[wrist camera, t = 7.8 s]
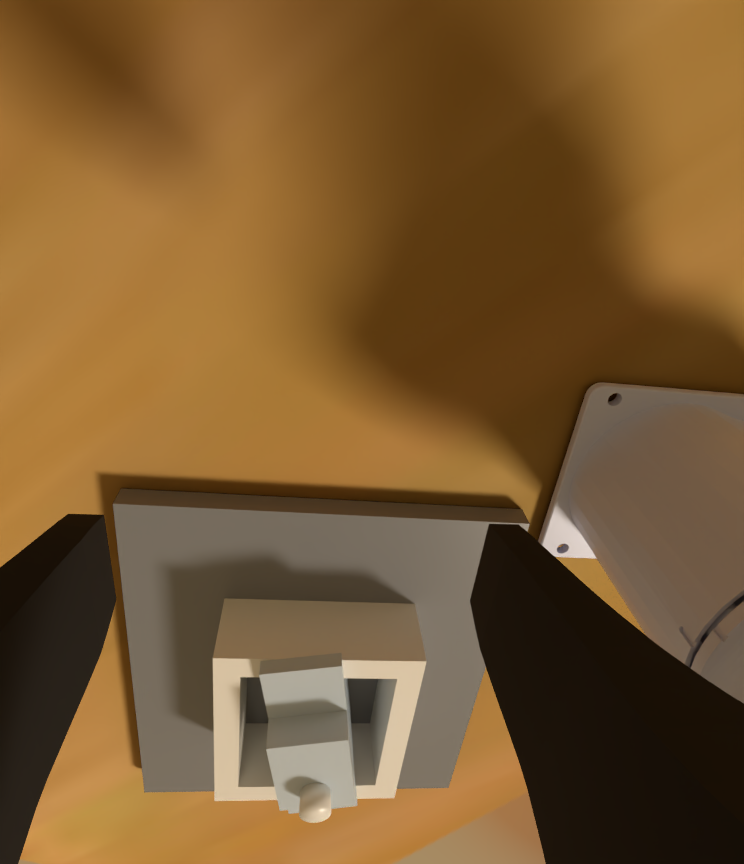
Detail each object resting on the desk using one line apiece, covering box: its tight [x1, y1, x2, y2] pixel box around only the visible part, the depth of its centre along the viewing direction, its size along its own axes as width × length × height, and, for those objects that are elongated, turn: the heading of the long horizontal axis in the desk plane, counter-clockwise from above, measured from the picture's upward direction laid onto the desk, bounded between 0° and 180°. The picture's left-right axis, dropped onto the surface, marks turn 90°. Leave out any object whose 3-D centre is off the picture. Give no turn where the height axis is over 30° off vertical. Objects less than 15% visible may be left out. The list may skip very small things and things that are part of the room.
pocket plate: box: [113, 488, 530, 801], centre depth 25 cm, size 16×18×4 cm
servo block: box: [259, 653, 357, 823], centre depth 23 cm, size 3×9×6 cm, turn 3°
